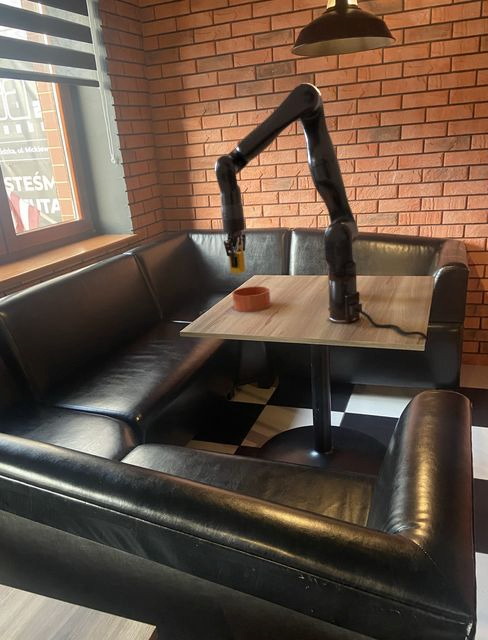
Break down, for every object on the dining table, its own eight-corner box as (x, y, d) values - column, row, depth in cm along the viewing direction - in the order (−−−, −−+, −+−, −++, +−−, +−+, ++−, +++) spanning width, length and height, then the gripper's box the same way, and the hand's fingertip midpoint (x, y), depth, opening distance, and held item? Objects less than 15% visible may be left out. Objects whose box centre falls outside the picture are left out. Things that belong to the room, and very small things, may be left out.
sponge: (245, 270, 190) (243, 251, 188) (240, 273, 187) (239, 253, 185) (235, 270, 192) (233, 251, 190) (230, 273, 189) (228, 253, 186)
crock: (277, 304, 208) (276, 289, 205) (250, 313, 199) (249, 298, 197) (253, 299, 218) (252, 284, 216) (226, 307, 210) (225, 293, 208)
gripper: (234, 219, 175) (239, 270, 181) (250, 213, 187) (255, 261, 193) (213, 220, 178) (219, 270, 185) (231, 214, 190) (236, 261, 196)
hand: (237, 265), depth 189 cm, fingers closed on sponge, 4 cm apart
